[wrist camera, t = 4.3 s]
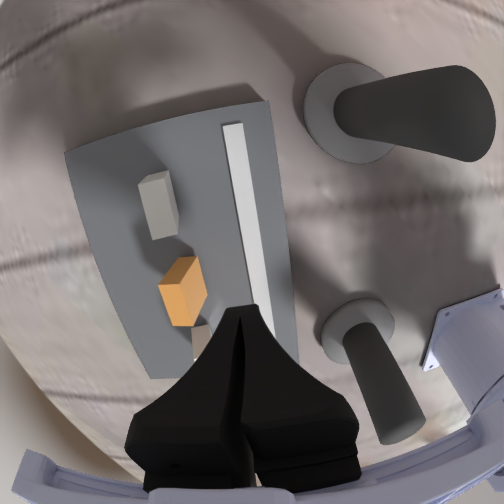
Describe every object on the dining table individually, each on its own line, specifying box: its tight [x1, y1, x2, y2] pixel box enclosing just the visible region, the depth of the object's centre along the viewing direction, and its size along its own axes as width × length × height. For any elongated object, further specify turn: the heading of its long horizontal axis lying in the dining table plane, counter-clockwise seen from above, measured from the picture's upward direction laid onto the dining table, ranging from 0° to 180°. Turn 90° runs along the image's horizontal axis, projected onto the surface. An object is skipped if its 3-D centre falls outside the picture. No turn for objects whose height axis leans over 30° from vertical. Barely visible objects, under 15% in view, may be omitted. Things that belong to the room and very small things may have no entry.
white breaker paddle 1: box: [138, 170, 179, 240], centre depth 14 cm, size 1×3×3 cm, turn 9°
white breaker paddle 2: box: [191, 324, 212, 361], centre depth 18 cm, size 1×3×3 cm, turn 9°
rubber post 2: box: [321, 298, 426, 445], centre depth 17 cm, size 6×6×10 cm
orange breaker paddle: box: [158, 256, 208, 326], centre depth 16 cm, size 1×3×3 cm, turn 9°
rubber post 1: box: [303, 63, 496, 164], centre depth 10 cm, size 6×6×10 cm
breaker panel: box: [64, 100, 299, 379], centre depth 18 cm, size 12×18×2 cm, turn 9°
